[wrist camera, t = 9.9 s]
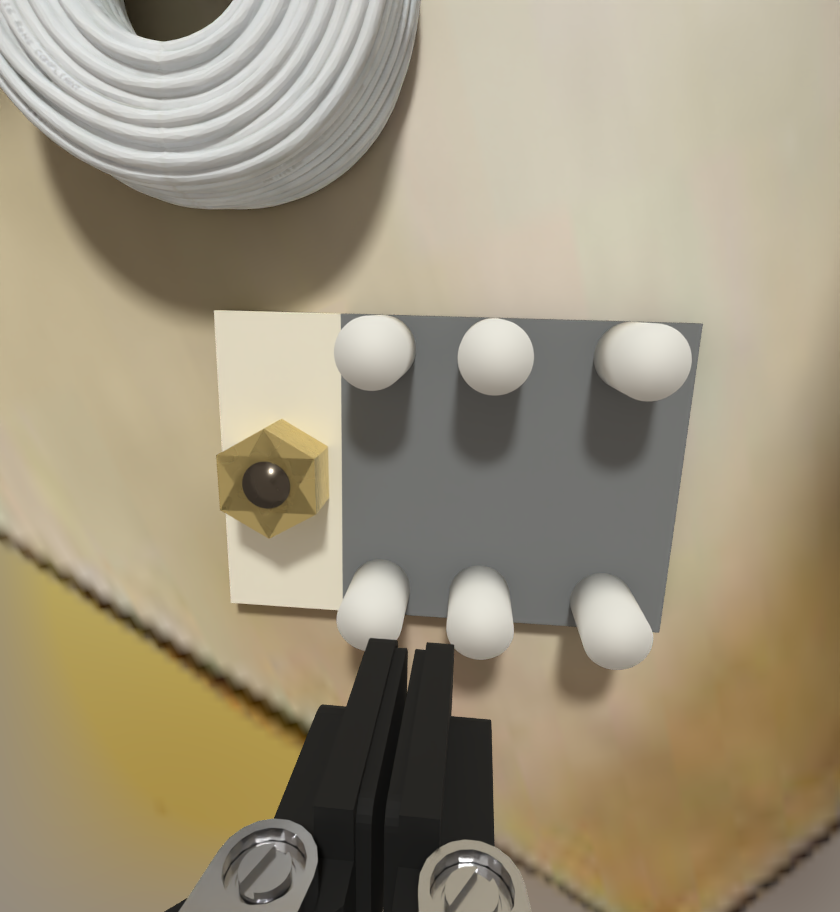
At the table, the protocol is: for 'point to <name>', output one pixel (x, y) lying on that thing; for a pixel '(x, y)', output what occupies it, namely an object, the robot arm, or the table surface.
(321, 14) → the cable
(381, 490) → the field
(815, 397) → the table surface
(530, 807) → the table surface
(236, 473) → the nut
